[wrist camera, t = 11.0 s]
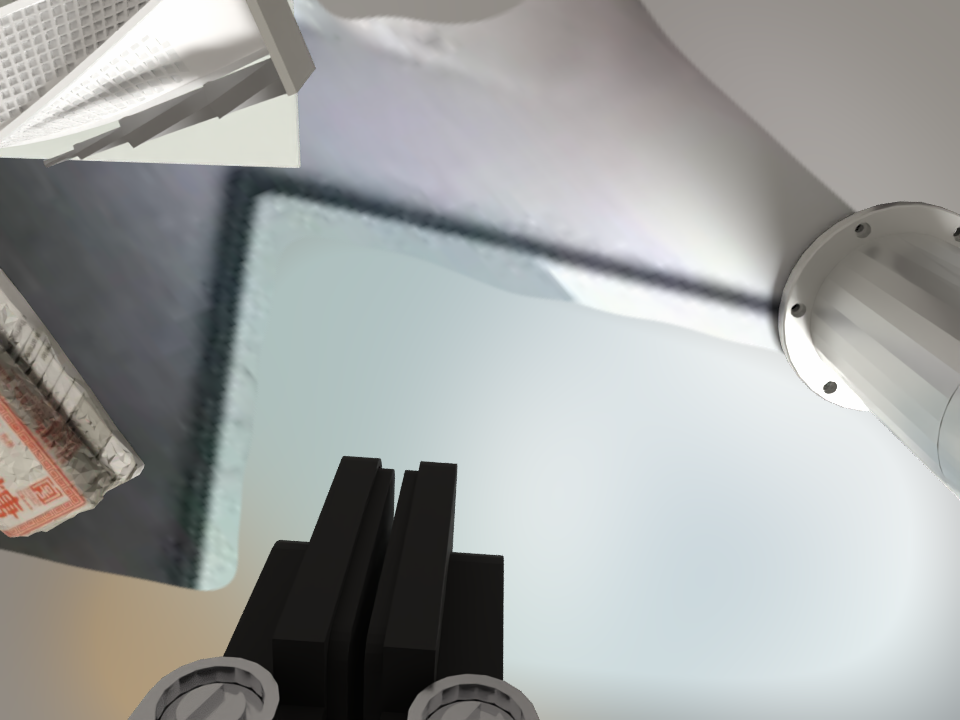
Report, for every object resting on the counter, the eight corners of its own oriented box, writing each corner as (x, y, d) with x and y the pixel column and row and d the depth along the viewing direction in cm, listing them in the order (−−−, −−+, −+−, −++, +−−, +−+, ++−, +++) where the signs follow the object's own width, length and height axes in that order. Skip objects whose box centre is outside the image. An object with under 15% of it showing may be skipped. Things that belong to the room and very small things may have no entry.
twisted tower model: (318, 63, 45) (-129, 234, 48) (251, -98, 41) (-230, 97, 45) (297, 92, 38) (-231, 291, 41) (212, -101, 34) (-362, 134, 37)
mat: (290, -56, 42) (288, -57, 41) (300, 166, 46) (298, 167, 46) (-172, -74, 42) (-181, -76, 41) (-120, 151, 46) (-128, 152, 45)
